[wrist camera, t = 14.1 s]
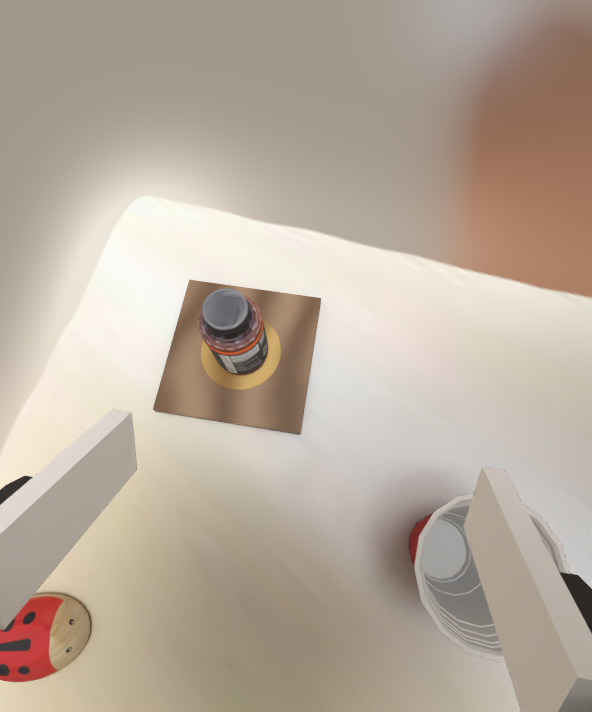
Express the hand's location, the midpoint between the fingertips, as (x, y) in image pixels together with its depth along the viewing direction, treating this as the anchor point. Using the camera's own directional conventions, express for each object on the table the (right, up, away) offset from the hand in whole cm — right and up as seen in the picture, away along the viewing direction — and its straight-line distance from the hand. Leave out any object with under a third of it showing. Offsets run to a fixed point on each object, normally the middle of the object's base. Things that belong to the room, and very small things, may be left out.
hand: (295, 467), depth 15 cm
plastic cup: (+14, -15, +24) cm, 32 cm away
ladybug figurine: (-24, -22, +22) cm, 39 cm away
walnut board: (-6, +4, +31) cm, 32 cm away
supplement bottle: (-6, +5, +30) cm, 31 cm away
